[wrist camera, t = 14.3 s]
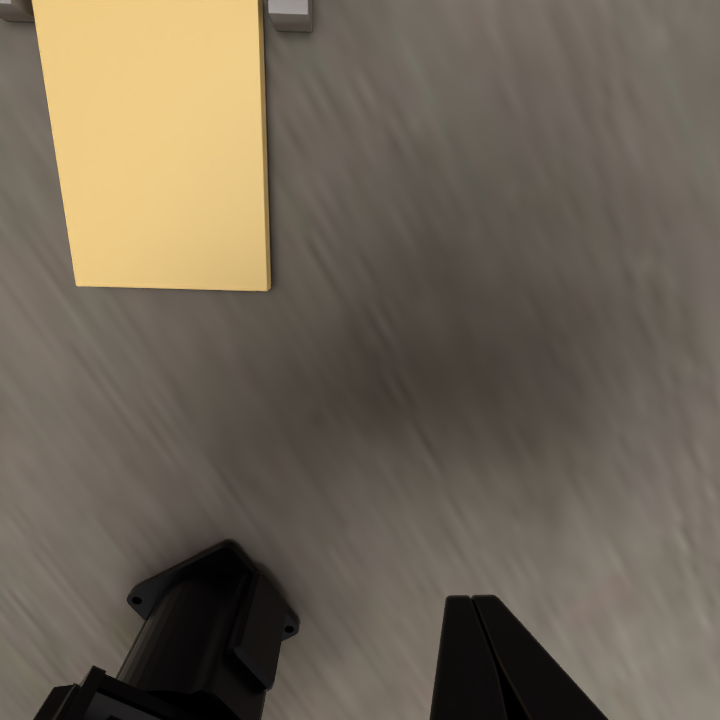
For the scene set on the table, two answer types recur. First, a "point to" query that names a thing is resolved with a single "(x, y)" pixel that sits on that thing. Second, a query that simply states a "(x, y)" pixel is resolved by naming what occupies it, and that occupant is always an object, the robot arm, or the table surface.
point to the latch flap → (160, 140)
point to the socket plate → (285, 6)
